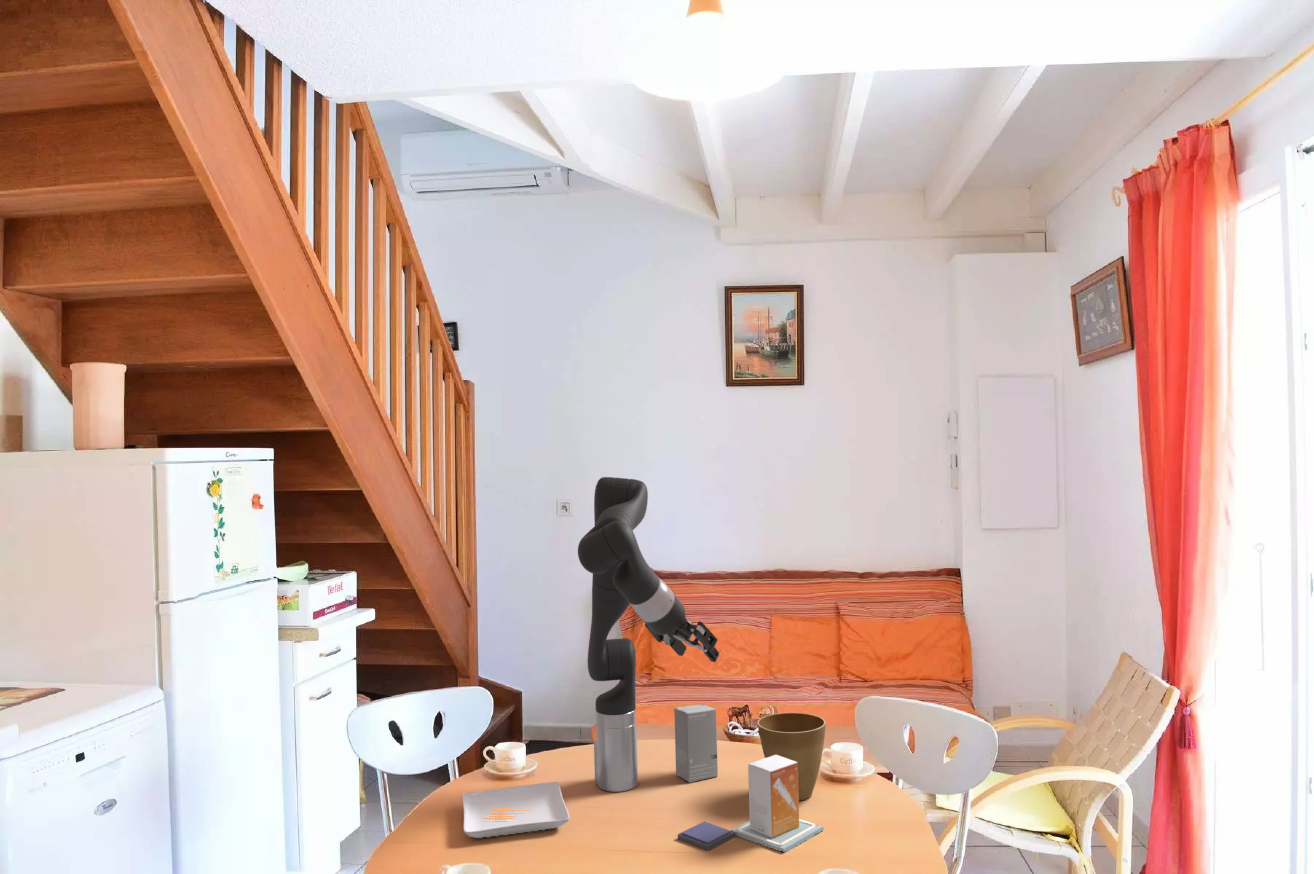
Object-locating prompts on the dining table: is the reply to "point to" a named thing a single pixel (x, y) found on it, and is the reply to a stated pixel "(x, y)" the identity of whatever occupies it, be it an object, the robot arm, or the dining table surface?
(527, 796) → the salad plate
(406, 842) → the dining table surface
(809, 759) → the plant pot
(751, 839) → the board
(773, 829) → the small box
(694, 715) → the skincare box
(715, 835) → the ink pad
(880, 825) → the dining table surface
